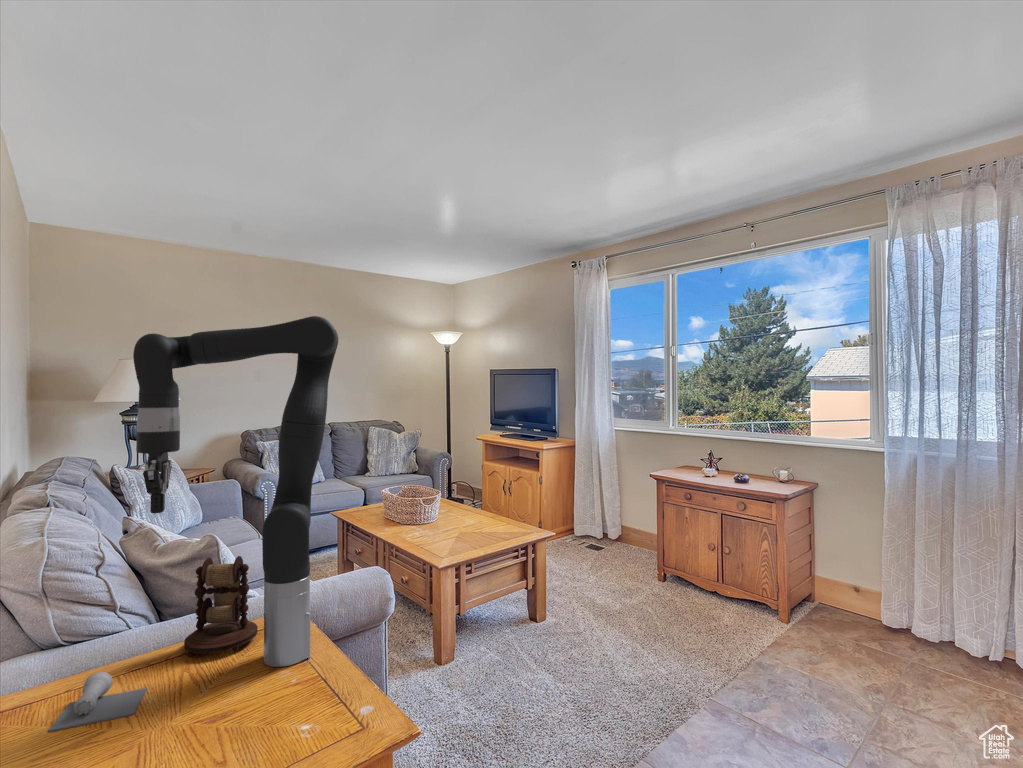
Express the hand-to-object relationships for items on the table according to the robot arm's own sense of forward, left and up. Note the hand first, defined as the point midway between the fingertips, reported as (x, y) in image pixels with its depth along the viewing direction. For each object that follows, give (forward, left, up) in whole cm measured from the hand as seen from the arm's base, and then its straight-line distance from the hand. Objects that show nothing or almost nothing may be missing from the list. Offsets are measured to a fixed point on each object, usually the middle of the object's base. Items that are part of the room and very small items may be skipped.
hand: (157, 512), depth 107 cm
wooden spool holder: (-11, -9, -33) cm, 36 cm away
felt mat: (+6, +11, -33) cm, 35 cm away
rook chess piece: (+8, +5, -30) cm, 32 cm away
